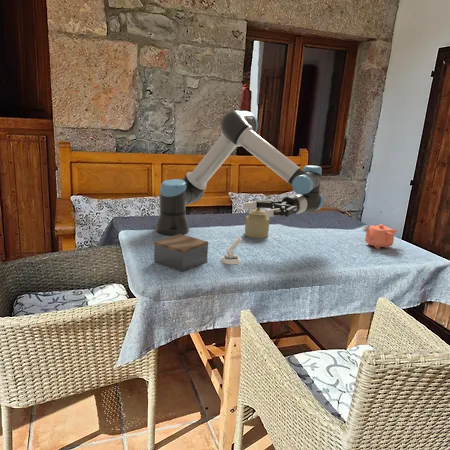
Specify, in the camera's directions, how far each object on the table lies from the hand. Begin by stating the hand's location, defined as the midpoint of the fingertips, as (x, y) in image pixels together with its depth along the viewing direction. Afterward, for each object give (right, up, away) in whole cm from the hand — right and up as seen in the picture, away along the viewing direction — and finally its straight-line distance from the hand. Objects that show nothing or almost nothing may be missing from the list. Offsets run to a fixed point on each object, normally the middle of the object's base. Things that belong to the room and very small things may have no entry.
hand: (254, 209), depth 162 cm
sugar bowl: (+2, -10, +37) cm, 38 cm away
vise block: (-28, -20, -4) cm, 34 cm away
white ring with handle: (-9, -20, 0) cm, 22 cm away
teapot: (+58, -16, +28) cm, 66 cm away
